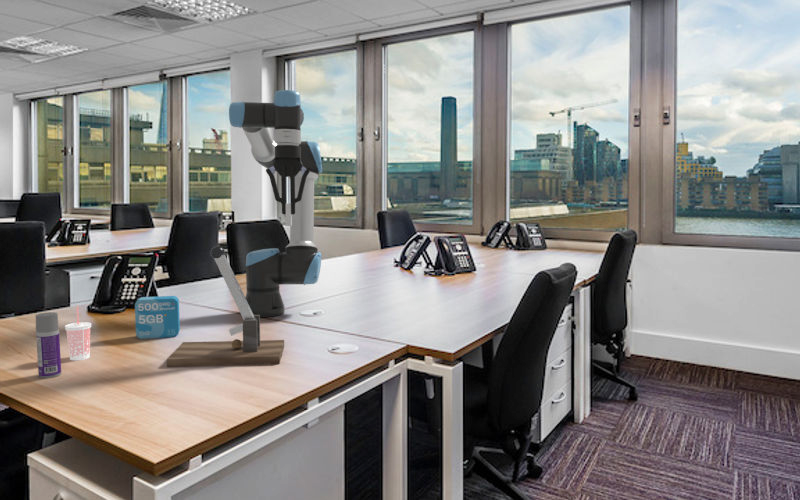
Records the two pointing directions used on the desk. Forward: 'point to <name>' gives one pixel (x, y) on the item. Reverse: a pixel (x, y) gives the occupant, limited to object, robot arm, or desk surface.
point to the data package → (157, 317)
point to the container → (48, 345)
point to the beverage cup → (78, 339)
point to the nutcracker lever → (232, 287)
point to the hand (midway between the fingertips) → (288, 225)
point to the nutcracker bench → (230, 350)
